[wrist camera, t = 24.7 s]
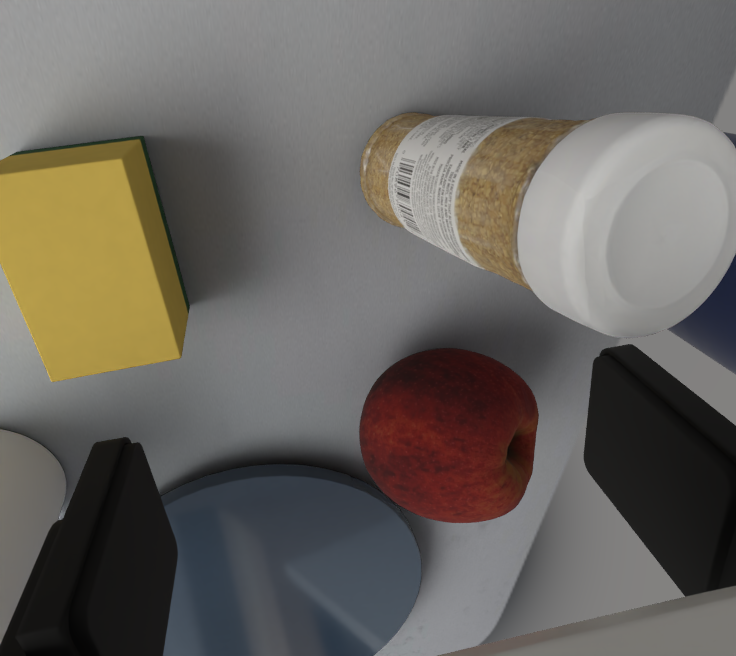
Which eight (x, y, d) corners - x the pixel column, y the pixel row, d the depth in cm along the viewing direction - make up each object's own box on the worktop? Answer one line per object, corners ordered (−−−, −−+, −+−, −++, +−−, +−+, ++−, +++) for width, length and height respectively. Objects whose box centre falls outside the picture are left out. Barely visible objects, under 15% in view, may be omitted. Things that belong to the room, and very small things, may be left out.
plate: (404, 423, 29) (413, 441, 28) (422, 637, 38) (428, 659, 36) (38, 501, 27) (28, 525, 25) (145, 712, 35) (142, 738, 34)
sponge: (16, 152, 20) (-38, 179, 16) (143, 135, 21) (122, 157, 17) (81, 325, 23) (51, 382, 19) (190, 306, 24) (181, 358, 20)
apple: (491, 431, 31) (567, 547, 24) (352, 459, 30) (389, 589, 23) (496, 310, 27) (587, 403, 20) (339, 336, 26) (378, 444, 19)
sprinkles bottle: (448, 229, 24) (714, 346, 13) (348, 220, 23) (545, 344, 11) (468, 118, 23) (791, 132, 11) (363, 101, 21) (609, 94, 10)
